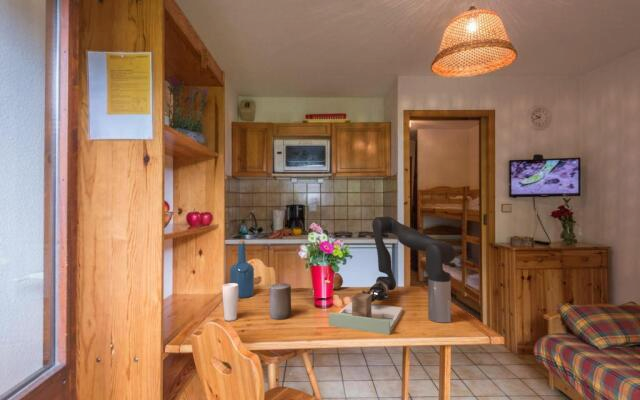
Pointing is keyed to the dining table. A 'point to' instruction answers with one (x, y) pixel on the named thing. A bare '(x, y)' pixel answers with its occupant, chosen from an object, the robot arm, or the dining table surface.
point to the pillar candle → (280, 301)
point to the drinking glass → (230, 301)
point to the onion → (337, 281)
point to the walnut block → (361, 305)
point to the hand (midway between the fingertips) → (370, 299)
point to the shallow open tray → (367, 319)
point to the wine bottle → (242, 273)
